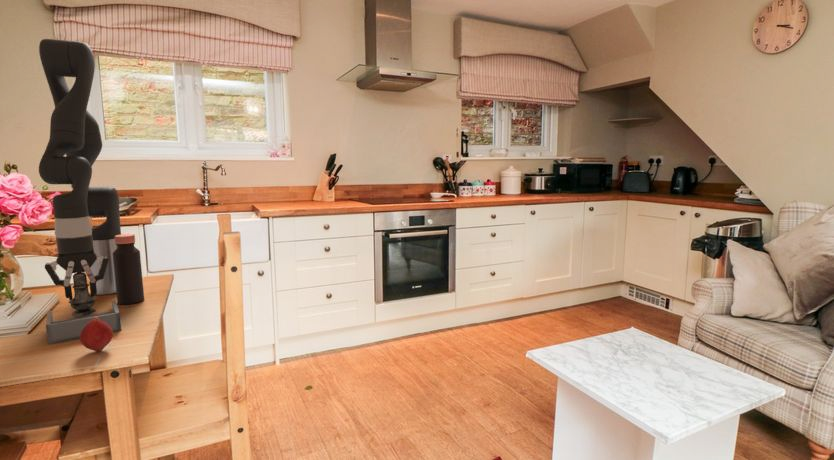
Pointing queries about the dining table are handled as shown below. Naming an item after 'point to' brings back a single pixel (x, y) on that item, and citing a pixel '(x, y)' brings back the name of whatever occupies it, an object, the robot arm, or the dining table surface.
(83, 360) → the dining table surface
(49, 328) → the box
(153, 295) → the dining table surface
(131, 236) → the bottle
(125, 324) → the dining table surface
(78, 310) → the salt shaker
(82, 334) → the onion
